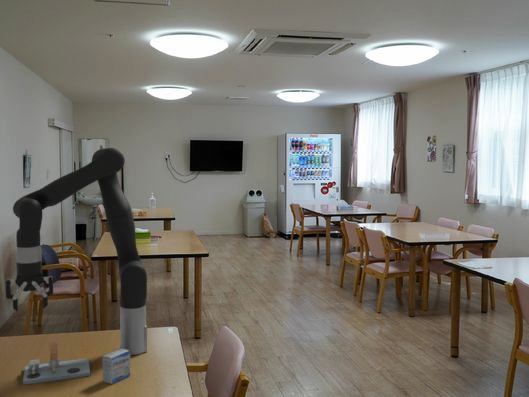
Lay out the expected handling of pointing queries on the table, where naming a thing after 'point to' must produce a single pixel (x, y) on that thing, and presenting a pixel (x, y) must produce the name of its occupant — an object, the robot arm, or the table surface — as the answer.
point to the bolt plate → (58, 371)
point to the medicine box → (116, 366)
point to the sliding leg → (53, 354)
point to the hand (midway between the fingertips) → (30, 309)
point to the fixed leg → (34, 365)
